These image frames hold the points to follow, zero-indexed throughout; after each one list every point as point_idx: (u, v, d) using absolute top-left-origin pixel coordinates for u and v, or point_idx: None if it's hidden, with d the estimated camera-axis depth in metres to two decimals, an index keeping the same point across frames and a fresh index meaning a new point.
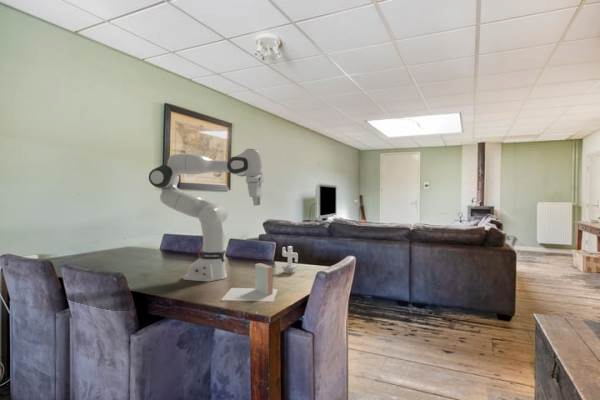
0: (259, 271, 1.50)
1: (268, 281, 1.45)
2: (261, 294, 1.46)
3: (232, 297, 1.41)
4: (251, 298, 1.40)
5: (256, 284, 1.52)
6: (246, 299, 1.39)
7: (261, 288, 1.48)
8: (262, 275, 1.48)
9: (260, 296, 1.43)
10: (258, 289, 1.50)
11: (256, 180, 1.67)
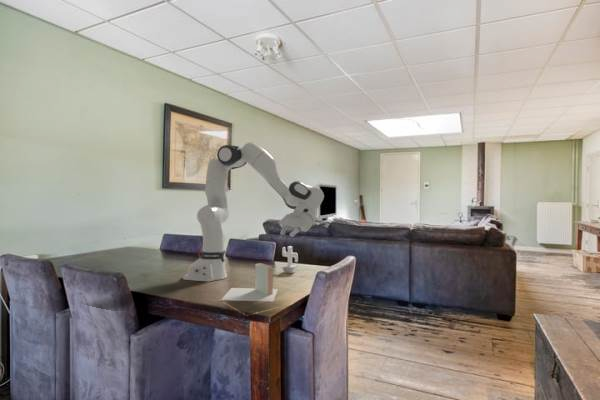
0: (259, 271, 1.50)
1: (268, 281, 1.45)
2: (261, 294, 1.46)
3: (232, 297, 1.41)
4: (251, 298, 1.40)
5: (256, 284, 1.52)
6: (246, 299, 1.39)
7: (261, 288, 1.48)
8: (262, 275, 1.48)
9: (260, 296, 1.43)
10: (258, 289, 1.50)
11: (314, 219, 1.57)
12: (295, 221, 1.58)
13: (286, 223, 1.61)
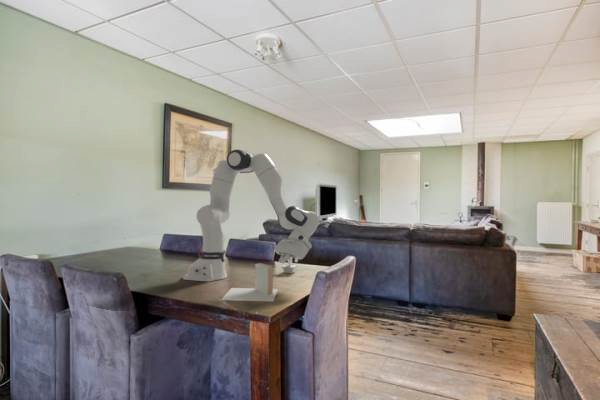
0: (259, 271, 1.50)
1: (268, 281, 1.45)
2: (261, 294, 1.46)
3: (232, 297, 1.41)
4: (251, 298, 1.40)
5: (256, 284, 1.52)
6: (246, 299, 1.39)
7: (261, 288, 1.48)
8: (262, 275, 1.48)
9: (260, 296, 1.43)
10: (258, 289, 1.50)
11: (310, 246, 1.55)
12: (290, 248, 1.56)
13: (281, 249, 1.60)
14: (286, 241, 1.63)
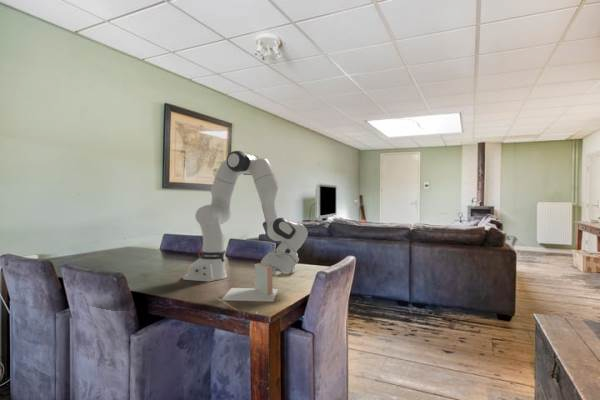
0: (258, 271, 1.50)
1: (268, 281, 1.45)
2: (261, 294, 1.46)
3: (232, 297, 1.41)
4: (251, 298, 1.40)
5: (256, 284, 1.52)
6: (246, 299, 1.39)
7: (261, 288, 1.48)
8: (261, 275, 1.48)
9: (260, 296, 1.43)
10: (258, 289, 1.50)
11: (297, 260, 1.51)
12: (277, 261, 1.52)
13: (268, 263, 1.55)
14: (273, 254, 1.58)
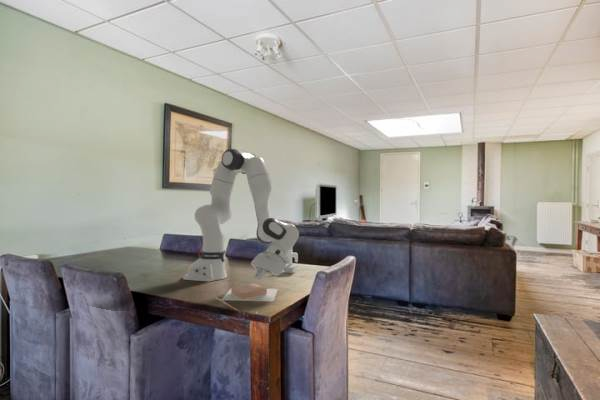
0: None
1: (255, 295, 1.41)
2: None
3: (232, 297, 1.41)
4: (251, 298, 1.40)
5: None
6: (246, 299, 1.39)
7: None
8: None
9: (260, 296, 1.43)
10: None
11: (287, 261, 1.47)
12: (267, 263, 1.48)
13: (257, 264, 1.52)
14: (263, 255, 1.55)
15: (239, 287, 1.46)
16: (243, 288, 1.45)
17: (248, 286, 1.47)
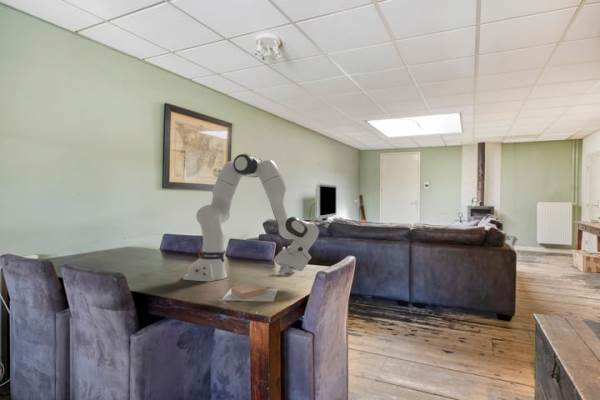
0: None
1: (255, 295, 1.41)
2: None
3: (232, 297, 1.41)
4: (251, 298, 1.40)
5: None
6: (246, 299, 1.39)
7: None
8: None
9: (260, 296, 1.43)
10: None
11: (309, 258, 1.55)
12: (290, 259, 1.56)
13: (280, 261, 1.60)
14: (286, 252, 1.63)
15: (239, 287, 1.46)
16: (243, 288, 1.45)
17: (248, 286, 1.47)
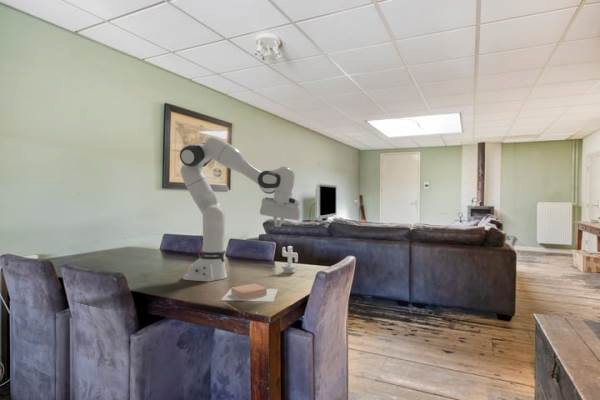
0: None
1: (255, 295, 1.41)
2: None
3: (232, 297, 1.41)
4: (251, 298, 1.40)
5: None
6: (246, 299, 1.39)
7: None
8: None
9: (260, 296, 1.43)
10: None
11: (299, 204, 1.65)
12: (283, 212, 1.62)
13: (271, 214, 1.63)
14: (271, 203, 1.64)
15: (239, 287, 1.46)
16: (243, 288, 1.45)
17: (248, 286, 1.47)
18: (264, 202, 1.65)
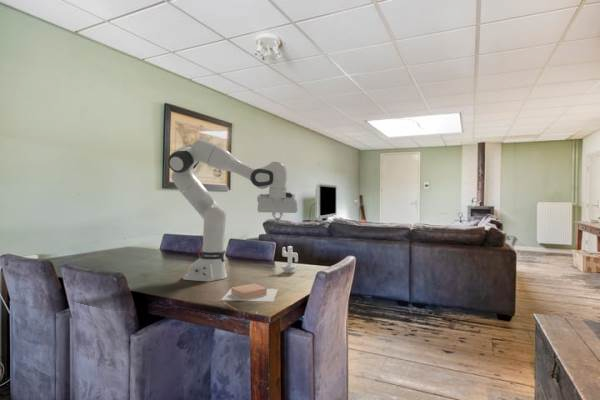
0: None
1: (255, 295, 1.41)
2: None
3: (232, 297, 1.41)
4: (251, 298, 1.40)
5: None
6: (246, 299, 1.39)
7: None
8: None
9: (260, 296, 1.43)
10: None
11: None
12: (281, 207, 1.65)
13: (270, 210, 1.65)
14: (268, 200, 1.65)
15: (239, 287, 1.46)
16: (243, 288, 1.45)
17: (248, 286, 1.47)
18: (260, 200, 1.66)
